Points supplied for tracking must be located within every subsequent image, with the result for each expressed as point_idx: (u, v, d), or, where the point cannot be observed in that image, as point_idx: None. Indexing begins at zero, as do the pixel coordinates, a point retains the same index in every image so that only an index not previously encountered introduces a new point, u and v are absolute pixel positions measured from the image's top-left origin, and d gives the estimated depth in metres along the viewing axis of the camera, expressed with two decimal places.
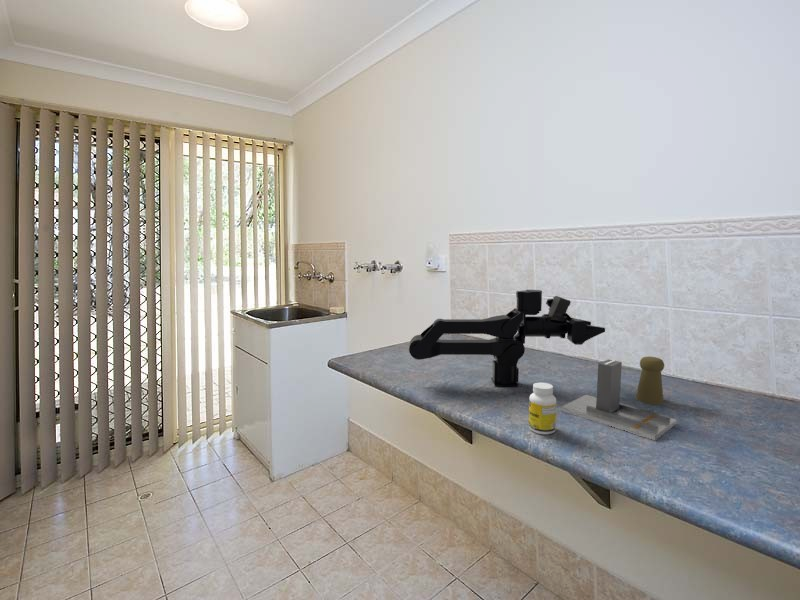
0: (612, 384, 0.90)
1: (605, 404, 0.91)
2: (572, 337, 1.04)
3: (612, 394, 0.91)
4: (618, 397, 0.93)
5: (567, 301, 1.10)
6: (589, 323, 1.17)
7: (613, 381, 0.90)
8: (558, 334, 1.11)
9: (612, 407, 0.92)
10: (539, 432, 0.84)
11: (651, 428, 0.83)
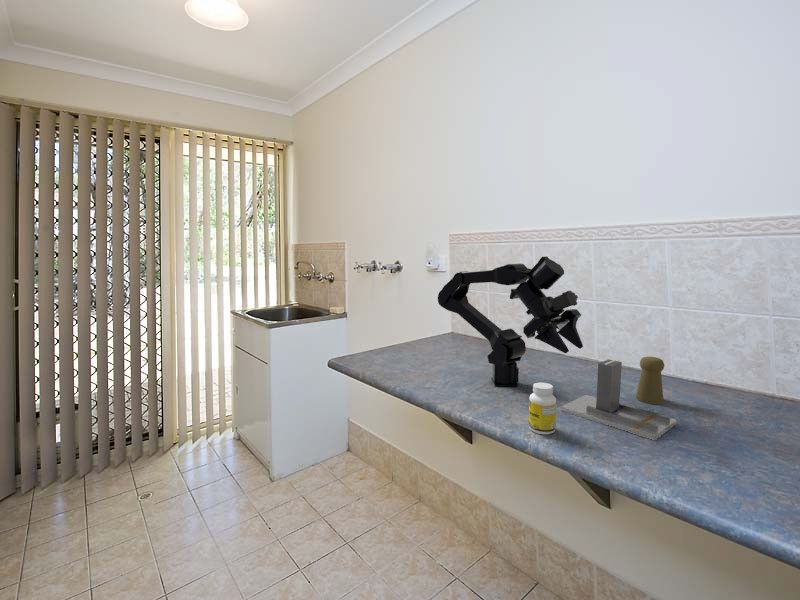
0: (612, 384, 0.90)
1: (605, 404, 0.91)
2: (526, 325, 0.98)
3: (612, 394, 0.91)
4: (618, 397, 0.93)
5: (566, 302, 0.97)
6: (580, 346, 1.01)
7: (613, 381, 0.90)
8: None
9: (612, 407, 0.92)
10: (539, 432, 0.84)
11: (651, 428, 0.83)
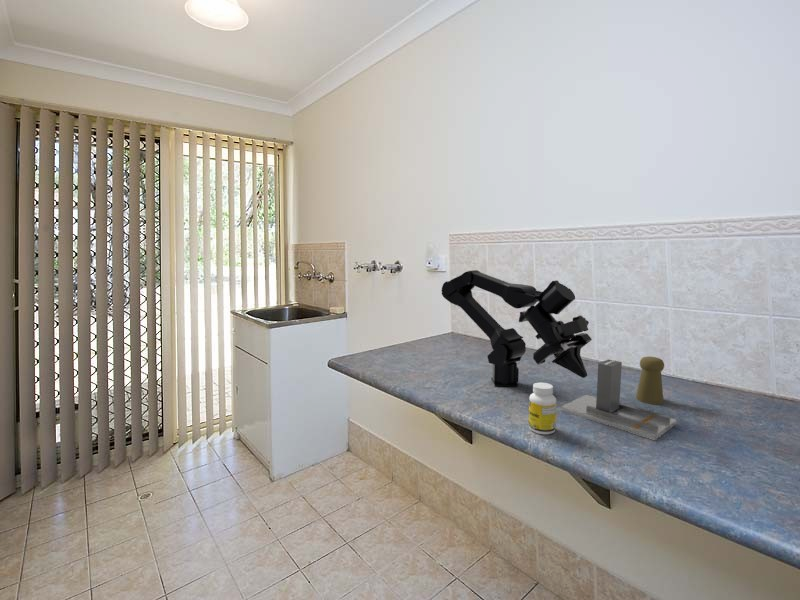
0: (612, 384, 0.90)
1: (605, 404, 0.91)
2: (536, 351, 0.97)
3: (612, 394, 0.91)
4: (618, 397, 0.93)
5: (577, 329, 0.95)
6: None
7: (613, 381, 0.90)
8: None
9: (612, 407, 0.92)
10: (539, 432, 0.84)
11: (651, 428, 0.83)
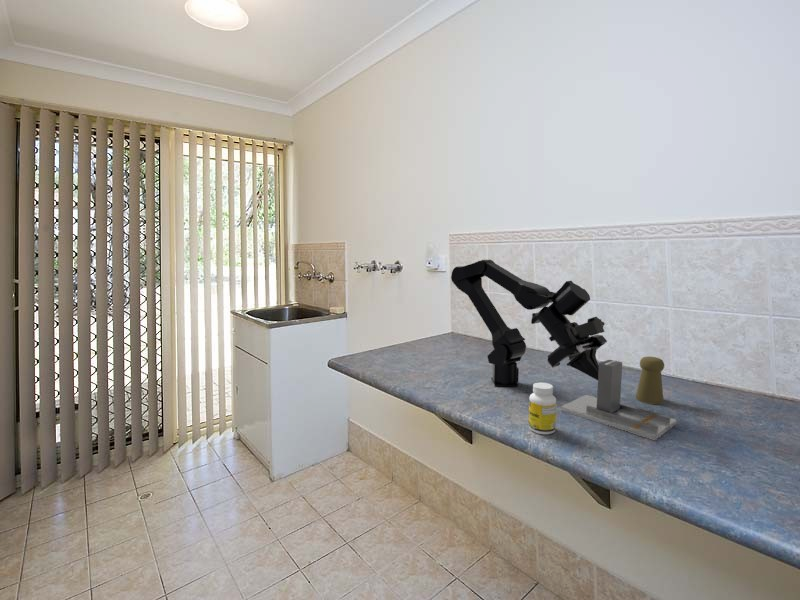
0: (612, 384, 0.90)
1: (606, 405, 0.91)
2: (550, 354, 0.94)
3: (612, 394, 0.91)
4: (619, 397, 0.93)
5: (593, 330, 0.92)
6: None
7: (613, 381, 0.90)
8: None
9: (613, 407, 0.91)
10: (539, 432, 0.84)
11: (651, 428, 0.83)
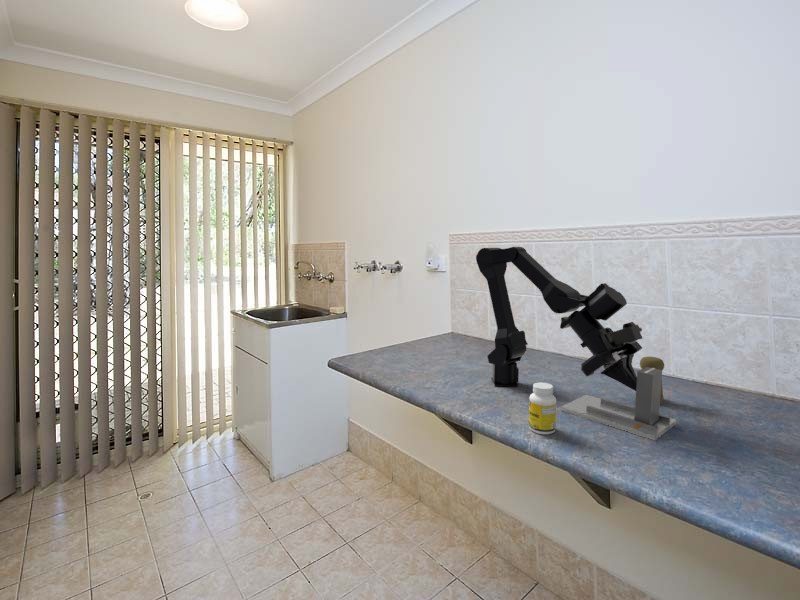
0: (652, 394, 0.84)
1: (645, 416, 0.85)
2: (584, 362, 0.87)
3: (652, 404, 0.84)
4: (658, 408, 0.87)
5: (631, 337, 0.86)
6: None
7: (654, 391, 0.84)
8: (593, 353, 0.93)
9: (653, 419, 0.85)
10: (539, 432, 0.84)
11: (651, 428, 0.83)
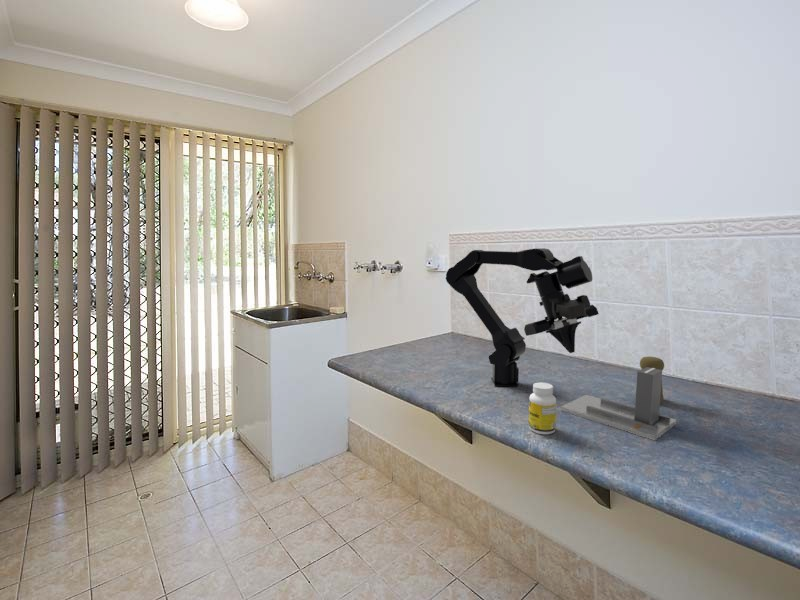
0: (652, 394, 0.84)
1: (645, 416, 0.85)
2: (527, 325, 1.03)
3: (652, 404, 0.84)
4: (658, 408, 0.87)
5: (570, 315, 0.96)
6: None
7: (654, 391, 0.84)
8: (546, 313, 1.05)
9: (653, 419, 0.85)
10: (539, 432, 0.84)
11: (651, 428, 0.83)
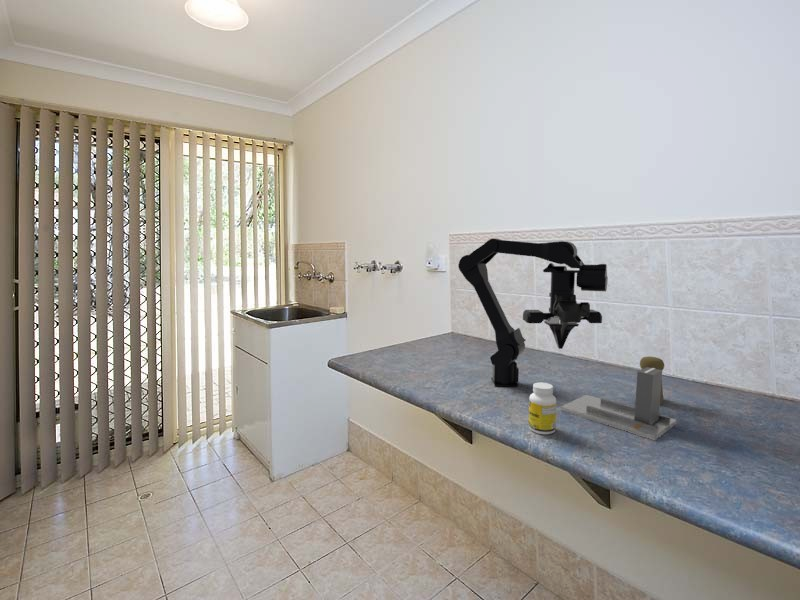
0: (652, 394, 0.84)
1: (645, 416, 0.85)
2: (526, 310, 1.07)
3: (652, 404, 0.84)
4: (658, 408, 0.87)
5: (562, 318, 0.98)
6: None
7: (654, 391, 0.84)
8: None
9: (653, 419, 0.85)
10: (539, 432, 0.84)
11: (651, 428, 0.83)
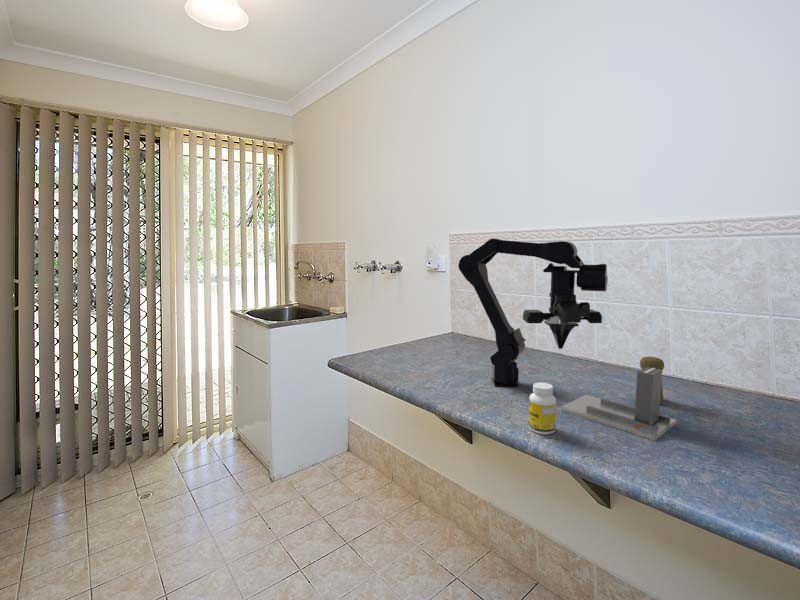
0: (652, 394, 0.84)
1: (645, 416, 0.85)
2: (526, 310, 1.07)
3: (652, 404, 0.84)
4: (658, 408, 0.87)
5: (562, 318, 0.98)
6: None
7: (654, 391, 0.84)
8: None
9: (653, 419, 0.85)
10: (539, 432, 0.84)
11: (651, 428, 0.83)
